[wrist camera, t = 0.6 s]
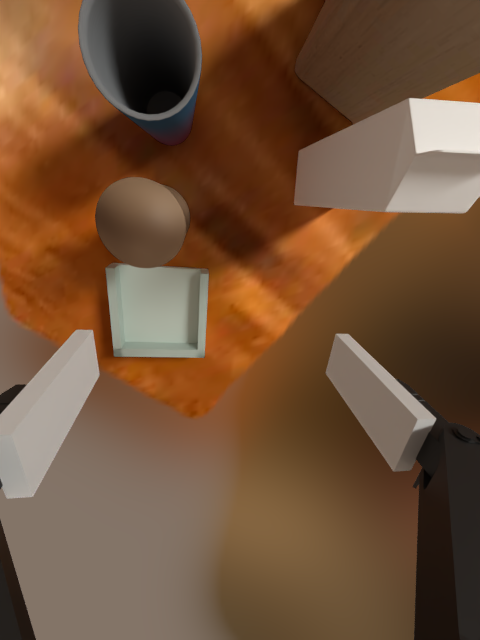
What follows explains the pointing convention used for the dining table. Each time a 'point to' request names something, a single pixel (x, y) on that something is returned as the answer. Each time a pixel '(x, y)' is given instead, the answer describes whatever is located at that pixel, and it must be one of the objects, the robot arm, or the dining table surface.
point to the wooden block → (389, 51)
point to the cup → (144, 61)
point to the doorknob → (142, 221)
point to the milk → (397, 161)
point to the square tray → (157, 310)
